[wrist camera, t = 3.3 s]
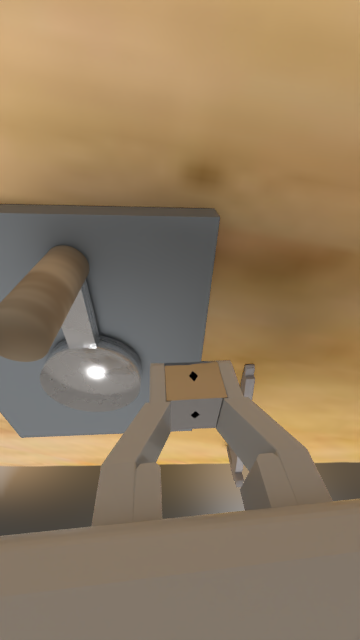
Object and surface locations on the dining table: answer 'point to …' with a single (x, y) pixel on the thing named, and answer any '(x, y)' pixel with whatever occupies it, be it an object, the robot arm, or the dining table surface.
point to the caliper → (235, 462)
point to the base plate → (111, 297)
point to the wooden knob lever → (67, 336)
